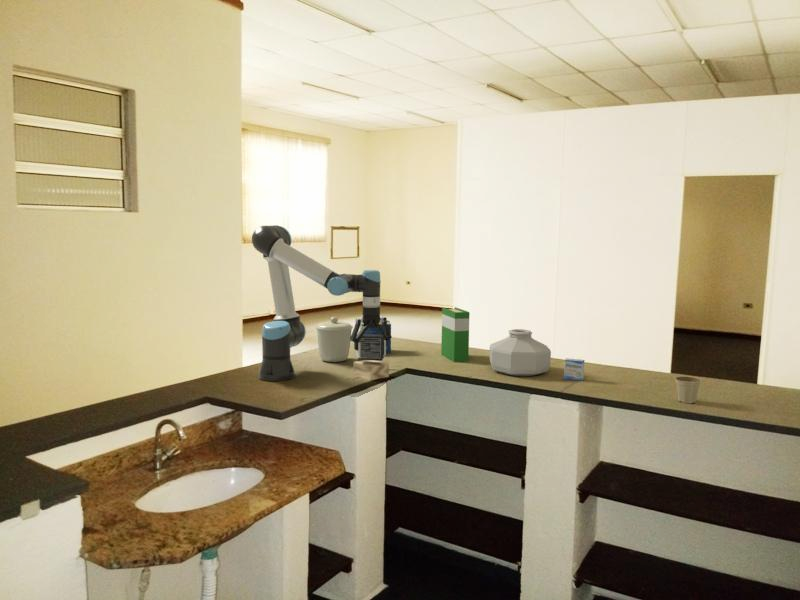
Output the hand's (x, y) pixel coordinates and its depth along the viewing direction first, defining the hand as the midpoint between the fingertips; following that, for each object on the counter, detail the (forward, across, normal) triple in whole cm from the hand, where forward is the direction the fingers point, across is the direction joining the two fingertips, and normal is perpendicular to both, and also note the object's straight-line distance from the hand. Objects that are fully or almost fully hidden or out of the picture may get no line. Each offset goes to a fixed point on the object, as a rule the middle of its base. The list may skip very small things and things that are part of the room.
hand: (370, 356), depth 281 cm
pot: (+9, +64, -22) cm, 68 cm away
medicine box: (+9, +75, -45) cm, 88 cm away
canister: (+9, -1, +37) cm, 38 cm away
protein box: (+9, +26, +46) cm, 54 cm away
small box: (+1, 0, 0) cm, 1 cm away
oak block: (+9, 0, 0) cm, 9 cm away
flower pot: (+9, +88, -91) cm, 127 cm away
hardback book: (+9, +54, +15) cm, 57 cm away
